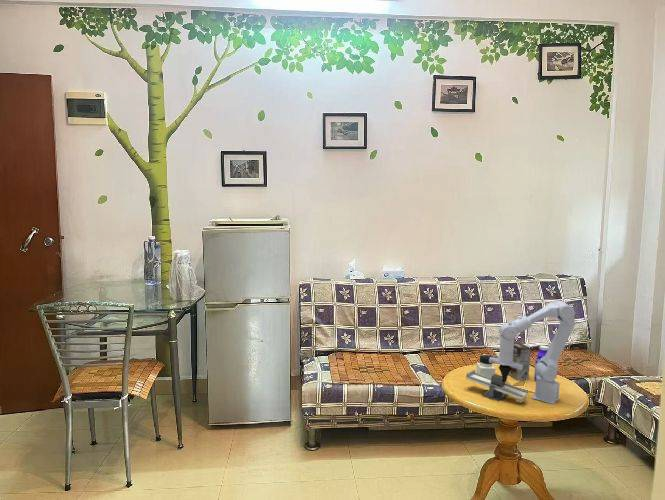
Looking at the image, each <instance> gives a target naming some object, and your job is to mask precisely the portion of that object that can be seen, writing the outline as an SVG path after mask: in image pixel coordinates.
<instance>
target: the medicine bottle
mask: <svg viewBox="0 0 665 500" xmlns="http://www.w3.org/2000/svg"><path fill="white" fill-rule="evenodd" d="M490 357H493V356H492V355H490V354H486V353H484V354H481V355H480V356H479V362H477V363H476V369H475V372H476V373H479V374H481V375H484V376H487V377H490V378H491V377H492V376H493V375H494V374H496V368H495V366H494V365H493V364H494V363H490V362H489V358H490Z"/></svg>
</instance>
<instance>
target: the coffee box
mask: <svg viewBox="0 0 665 500" xmlns="http://www.w3.org/2000/svg"><path fill="white" fill-rule="evenodd" d="M531 351H532V348H531V347H530V346H528V345H527V344H524V343H522V342H519V341H518V342H514V349H513V362H516V363H519V364H522V365H523V369H522V370H519V369H516V368H512V369H511V370H510V372H509V374H508V376H510V377H511V378H513V379H515V380H517V381H526V380H529V374H530V363H531V355H532V354H531V353H532V352H531Z"/></svg>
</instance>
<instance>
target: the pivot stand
mask: <svg viewBox="0 0 665 500" xmlns="http://www.w3.org/2000/svg"><path fill="white" fill-rule="evenodd" d="M507 395H508V394H505V393H502V392H500V391H497V390H494V387H493V386H489V387H488V390H486V391H485V392H484V393H482V395H481V396H482V397H484V398H487V399H491V400H494V401H498V402H500V401H502V400H504V399H505V398H506V397H507ZM508 396H509V395H508Z"/></svg>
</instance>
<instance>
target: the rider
mask: <svg viewBox="0 0 665 500" xmlns="http://www.w3.org/2000/svg"><path fill="white" fill-rule="evenodd" d="M505 383H506V382H503V378H502V375H501V374H497V373H495V374H494V375H493V376H492V377H491V384H494V385H496V386H499V387H504V386H505Z"/></svg>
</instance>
